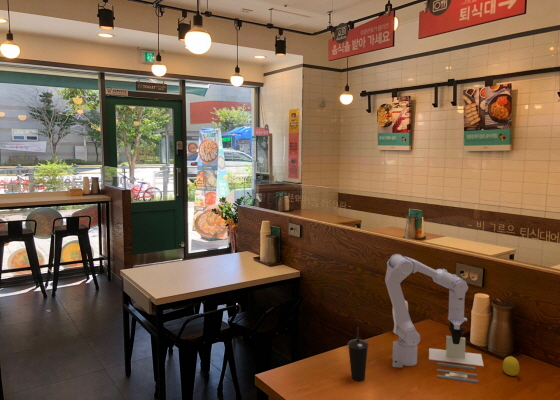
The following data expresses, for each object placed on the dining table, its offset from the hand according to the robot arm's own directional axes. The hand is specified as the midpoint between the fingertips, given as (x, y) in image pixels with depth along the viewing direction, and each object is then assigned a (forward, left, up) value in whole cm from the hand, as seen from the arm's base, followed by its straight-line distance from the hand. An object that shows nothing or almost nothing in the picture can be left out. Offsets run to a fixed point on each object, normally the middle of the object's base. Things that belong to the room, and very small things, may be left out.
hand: (455, 339), depth 182 cm
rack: (0, -13, -9) cm, 16 cm away
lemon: (+19, -8, -9) cm, 22 cm away
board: (0, 0, -9) cm, 9 cm away
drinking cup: (-35, -25, -9) cm, 44 cm away
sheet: (0, 0, -7) cm, 7 cm away
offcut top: (+1, -16, -7) cm, 18 cm away
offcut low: (-1, -16, -8) cm, 18 cm away
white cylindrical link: (-23, +21, -9) cm, 32 cm away
